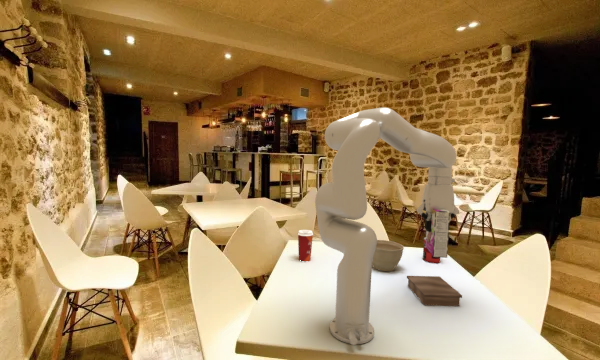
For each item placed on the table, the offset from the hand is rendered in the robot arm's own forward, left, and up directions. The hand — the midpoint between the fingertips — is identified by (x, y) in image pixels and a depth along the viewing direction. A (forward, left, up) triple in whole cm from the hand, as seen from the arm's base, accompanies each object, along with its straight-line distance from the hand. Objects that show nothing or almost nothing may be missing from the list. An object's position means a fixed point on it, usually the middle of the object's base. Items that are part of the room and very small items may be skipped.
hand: (436, 230), depth 107 cm
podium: (0, 0, -24) cm, 24 cm away
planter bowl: (+26, +10, -24) cm, 37 cm away
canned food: (+37, -17, -24) cm, 48 cm away
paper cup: (+34, +46, -24) cm, 63 cm away
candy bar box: (0, 0, -8) cm, 8 cm away
